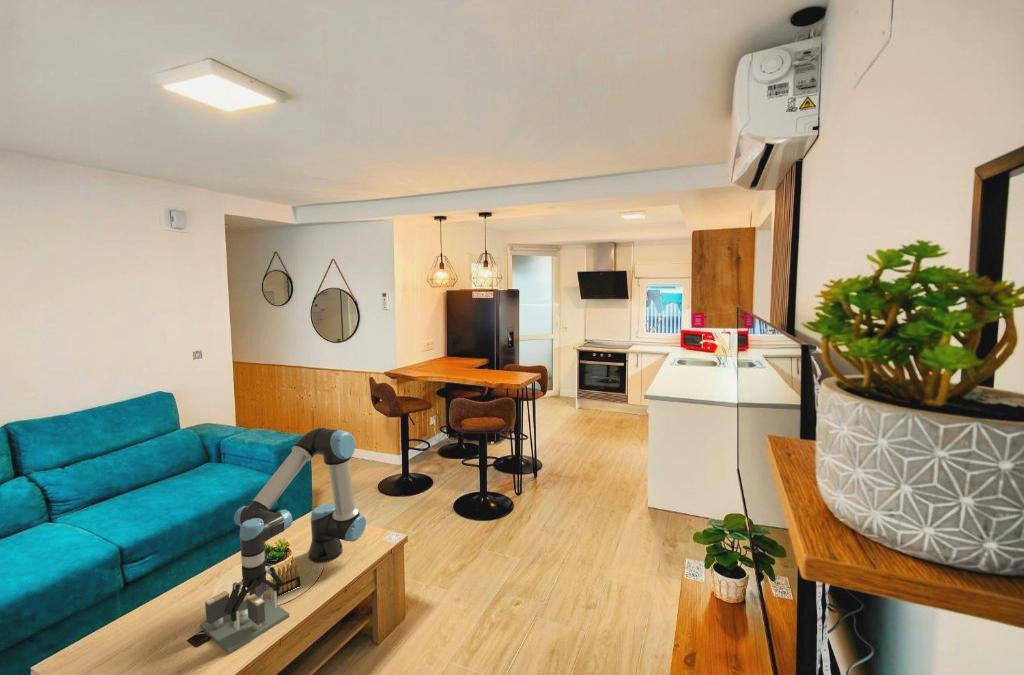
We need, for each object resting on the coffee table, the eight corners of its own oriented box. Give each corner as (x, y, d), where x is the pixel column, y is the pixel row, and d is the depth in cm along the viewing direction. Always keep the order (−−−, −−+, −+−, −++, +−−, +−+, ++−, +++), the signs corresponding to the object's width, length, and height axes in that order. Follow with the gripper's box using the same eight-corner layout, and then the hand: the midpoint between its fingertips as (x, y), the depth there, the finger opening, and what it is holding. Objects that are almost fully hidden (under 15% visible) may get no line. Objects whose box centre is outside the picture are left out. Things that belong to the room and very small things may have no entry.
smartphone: (185, 639, 167) (228, 614, 180) (186, 641, 167) (228, 615, 180) (196, 647, 163) (239, 621, 176) (196, 649, 163) (239, 622, 176)
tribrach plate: (259, 595, 191) (258, 586, 190) (289, 616, 179) (288, 607, 178) (200, 628, 173) (199, 617, 172) (229, 654, 161) (228, 643, 160)
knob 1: (226, 618, 176) (224, 590, 174) (230, 621, 174) (229, 592, 173) (206, 630, 170) (204, 600, 168) (211, 633, 168) (209, 603, 167)
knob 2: (248, 626, 172) (246, 597, 170) (256, 621, 174) (254, 592, 173) (258, 634, 168) (256, 604, 167) (266, 629, 170) (264, 600, 169)
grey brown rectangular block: (257, 609, 181) (255, 581, 179) (249, 609, 181) (248, 581, 179) (267, 597, 187) (266, 570, 186) (260, 597, 188) (259, 570, 186)
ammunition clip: (274, 598, 189) (272, 571, 188) (272, 596, 191) (271, 569, 189) (301, 586, 197) (299, 560, 195) (299, 584, 198) (298, 558, 197)
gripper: (280, 543, 181) (282, 594, 183) (211, 576, 160) (214, 633, 162) (291, 550, 176) (293, 601, 179) (221, 584, 156) (225, 642, 158)
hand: (256, 616), depth 170 cm, fingers open, 13 cm apart
